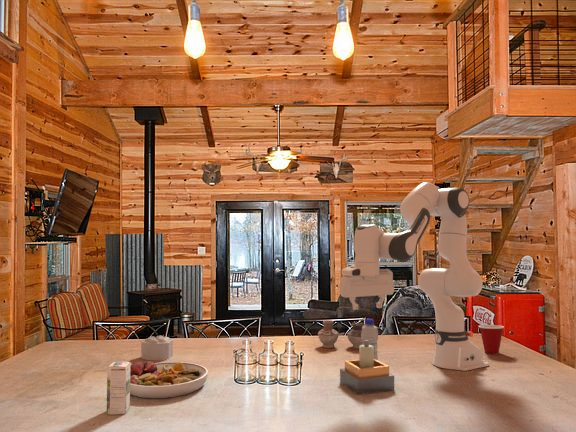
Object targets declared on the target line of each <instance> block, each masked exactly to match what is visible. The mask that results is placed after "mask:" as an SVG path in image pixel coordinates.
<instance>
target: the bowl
mask: <svg viewBox="0 0 576 432" xmlns="http://www.w3.org/2000/svg"><path fill="white" fill-rule="evenodd" d="M143 363H144V362H142V361H135V362H133V363H131V364H130V396H135V397H137V398H144V399H145V398H146V399H168V397H170V398H176V397H180V395H181V396H184V395H188V394H191V393H193V392H195V391H197V390H200V388H201V387H203V386H204V385H205V383H206V381H207V379H208V376H209V374H208V373H209V371H208V369H207V367H205V366H204V365H201V364H197V363H194V362H193V363H191V362H185V361H166V362H165V361H164V362H156V363H155V362H154V361H153V360H146V362H145V363H144V364H143ZM175 396H176V397H175Z"/></svg>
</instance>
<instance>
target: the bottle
mask: <svg viewBox="0 0 576 432" xmlns="http://www.w3.org/2000/svg"><path fill="white" fill-rule="evenodd" d="M364 324H365V326H363V327H362V333H361V336H362V337H361V338H362V345H364V340H368V341H369V345H372V346H374V359H376V360H378V361H379V355H378V341H379V330H378V327H377V326H376V325H375V320H374V319H373V318H366V319H365V323H364Z"/></svg>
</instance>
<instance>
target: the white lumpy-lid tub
mask: <svg viewBox="0 0 576 432" xmlns="http://www.w3.org/2000/svg"><path fill="white" fill-rule="evenodd" d="M173 341H174V339H173V338H170V337H168V336H163V335H157V336H153V335H152V336H149V337H148V338H144V339H143V340H141V341H140V342H141V344H140V345H141V347H140V348H141V351H140V352H141V354H140V357H141V359H142V360H145V361H167V359H168V360H170V359H171V357H173V356H174V352H173V351H174V346H173V345H174V342H173Z"/></svg>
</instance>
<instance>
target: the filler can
mask: <svg viewBox="0 0 576 432" xmlns="http://www.w3.org/2000/svg"><path fill="white" fill-rule="evenodd" d="M358 351H359V355H358V356H359V359H358V360H359V367H360V368H368V367H374V346H372V345H369V341H368V340H364V345H360V346H359V350H358Z"/></svg>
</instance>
